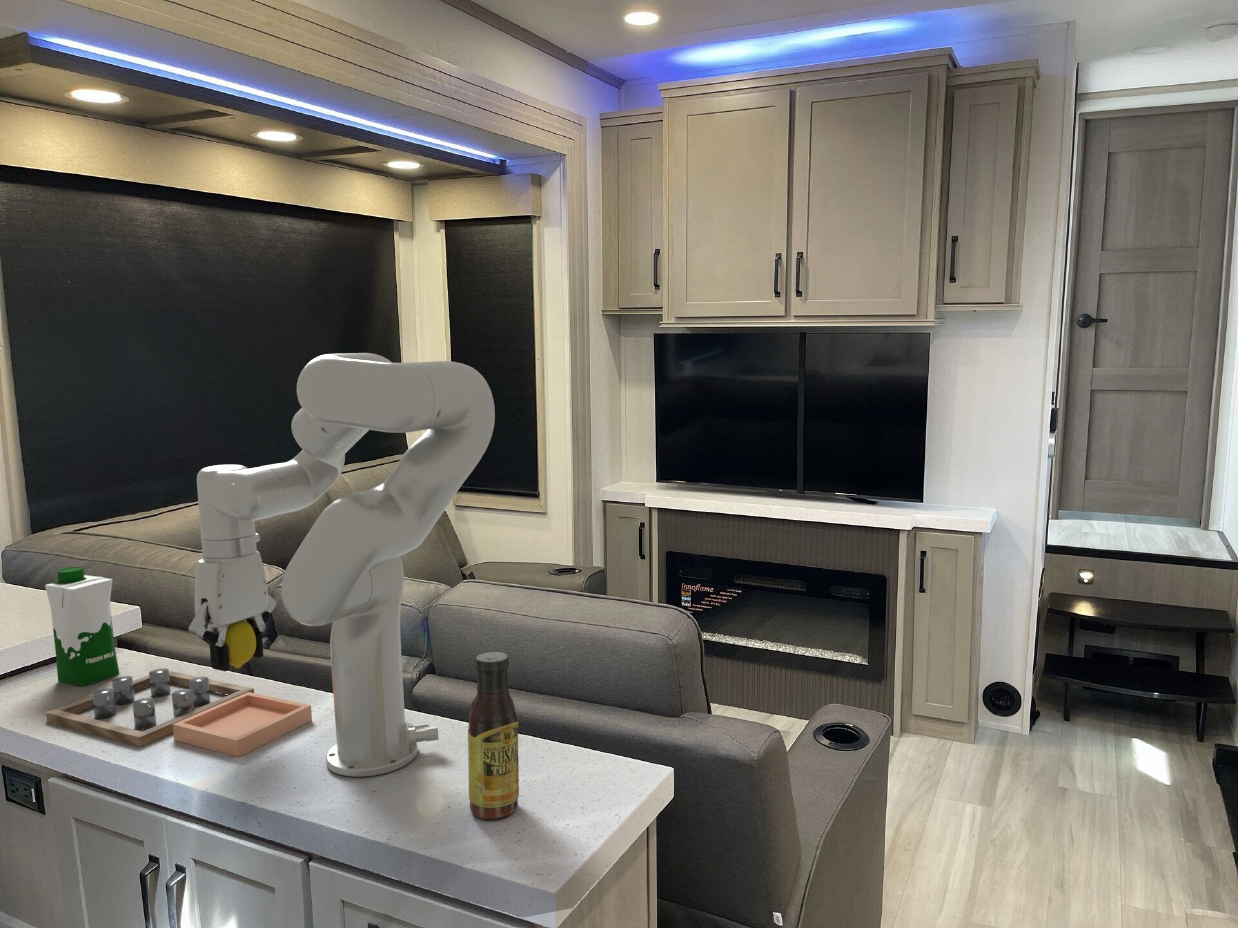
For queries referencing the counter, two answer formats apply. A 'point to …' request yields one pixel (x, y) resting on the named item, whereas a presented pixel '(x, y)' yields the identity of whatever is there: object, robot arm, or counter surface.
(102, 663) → the milk carton
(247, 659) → the lemon
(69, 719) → the frame
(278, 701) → the dish
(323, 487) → the robot arm
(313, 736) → the counter surface
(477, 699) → the sauce bottle
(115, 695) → the posts
